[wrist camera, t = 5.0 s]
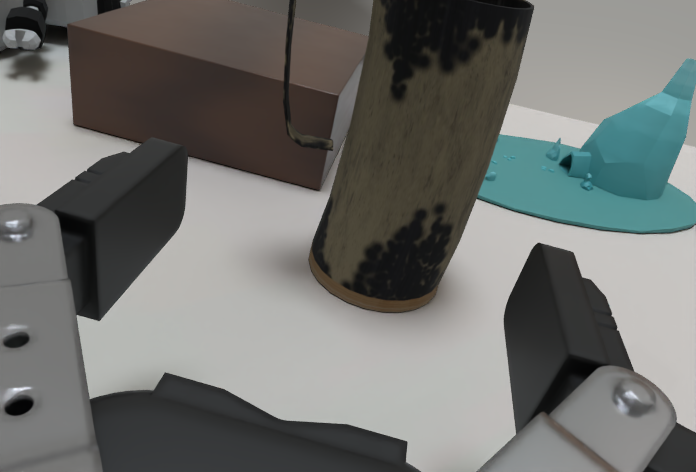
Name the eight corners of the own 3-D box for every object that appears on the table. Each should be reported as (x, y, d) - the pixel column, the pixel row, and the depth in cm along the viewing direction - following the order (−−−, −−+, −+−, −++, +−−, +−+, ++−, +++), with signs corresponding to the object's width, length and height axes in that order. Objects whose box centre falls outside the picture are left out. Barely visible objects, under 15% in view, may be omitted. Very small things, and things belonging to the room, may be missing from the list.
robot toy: (41, 99, 31) (153, 28, 43) (29, 18, 29) (152, -34, 41) (-168, 47, 31) (3, -10, 43) (-199, -39, 29) (-8, -74, 41)
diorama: (393, 117, 38) (427, -13, 34) (641, 159, 42) (703, 47, 38) (430, 206, 28) (486, 38, 24) (751, 250, 32) (853, 113, 28)
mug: (427, 239, 26) (523, -41, 19) (456, 319, 21) (595, -12, 15) (256, 216, 24) (299, -94, 18) (248, 298, 20) (302, -80, 13)
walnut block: (72, 124, 28) (65, 23, 25) (181, 63, 39) (184, -12, 36) (319, 191, 27) (339, 95, 25) (358, 110, 38) (374, 37, 36)
